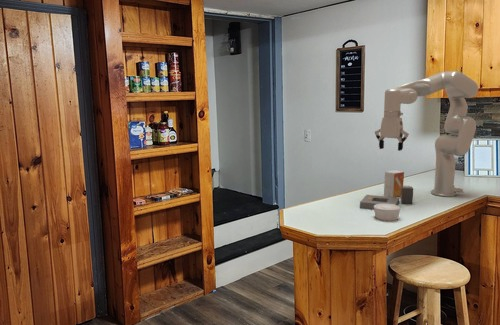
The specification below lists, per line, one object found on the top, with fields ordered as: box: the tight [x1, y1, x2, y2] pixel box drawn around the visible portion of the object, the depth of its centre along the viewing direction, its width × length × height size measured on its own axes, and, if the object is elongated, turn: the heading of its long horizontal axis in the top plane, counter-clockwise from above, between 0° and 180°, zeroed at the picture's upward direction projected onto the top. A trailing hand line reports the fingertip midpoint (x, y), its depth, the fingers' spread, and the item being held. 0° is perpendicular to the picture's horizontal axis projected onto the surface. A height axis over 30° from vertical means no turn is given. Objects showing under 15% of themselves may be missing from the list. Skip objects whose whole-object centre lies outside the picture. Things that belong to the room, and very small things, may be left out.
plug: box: [400, 185, 414, 206], centre depth 217 cm, size 5×5×9 cm
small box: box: [383, 169, 405, 198], centre depth 232 cm, size 8×6×13 cm
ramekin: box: [373, 204, 401, 222], centre depth 193 cm, size 11×11×5 cm
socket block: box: [359, 194, 400, 211], centre depth 212 cm, size 16×16×3 cm
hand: (390, 149), depth 216 cm, fingers open, 9 cm apart
